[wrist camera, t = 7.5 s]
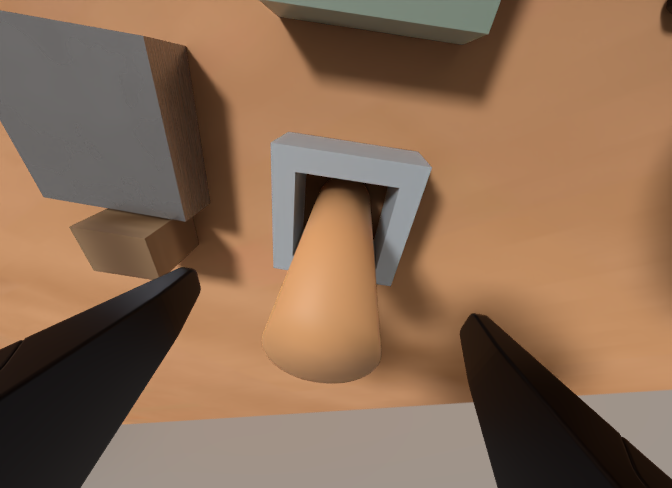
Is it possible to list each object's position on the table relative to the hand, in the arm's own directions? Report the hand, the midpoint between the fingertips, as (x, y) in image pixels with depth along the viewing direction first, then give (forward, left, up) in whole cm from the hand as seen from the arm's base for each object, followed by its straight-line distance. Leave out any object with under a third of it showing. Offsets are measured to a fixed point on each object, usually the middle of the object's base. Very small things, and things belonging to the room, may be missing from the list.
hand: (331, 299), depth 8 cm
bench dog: (+12, +4, -8) cm, 15 cm away
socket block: (0, 0, -8) cm, 8 cm away
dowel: (0, 0, -8) cm, 8 cm away
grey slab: (+13, -2, -9) cm, 15 cm away
